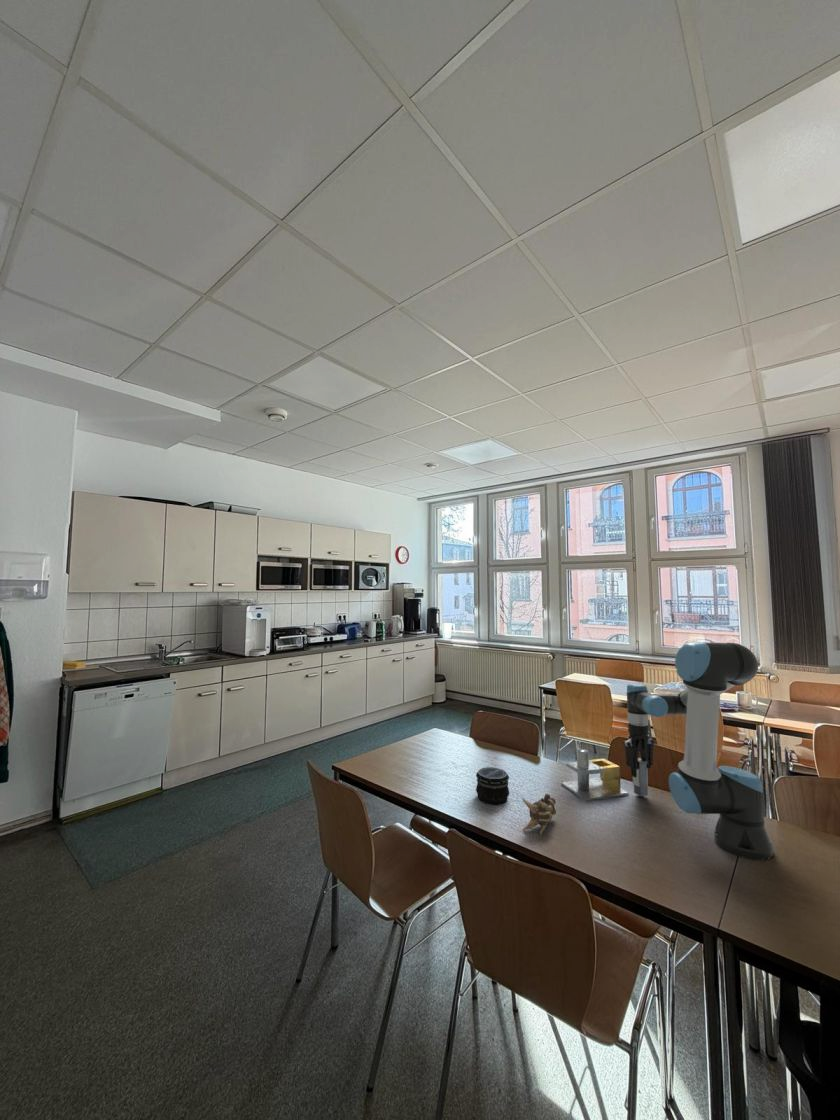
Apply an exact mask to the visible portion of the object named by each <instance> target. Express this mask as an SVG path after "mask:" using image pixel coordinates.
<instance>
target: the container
mask: <svg viewBox="0 0 840 1120" xmlns="http://www.w3.org/2000/svg"><path fill="white" fill-rule="evenodd" d="M475 777H476V782H477V785H476V788H475V792H476V794H477V800H478V801H479V802H480V803H483V804H485V805H489V806H501V805H504V804H506V803H507V802H508V798H509V795H510V790H509V779H510V777H509V774H508V773H507V772H506V770H504V769H503V768H499V767H493V766H491V767H490V766H489V767H488V766H486V767H482V768H480V769H478V771H477V772H476V774H475Z"/></svg>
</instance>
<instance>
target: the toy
mask: <svg viewBox="0 0 840 1120" xmlns="http://www.w3.org/2000/svg"><path fill="white" fill-rule="evenodd" d="M521 800H522V801H523V803H524V804H525V805H526V806H527V808H528V809H529V817H530V820H529V822H528V823H526V825H525V826H524V827H523V829H522V831H526V830H530V829H532V828H534V827H536V826H538V825H539V826H540V832H539V835H542V834H543V832H544V830H545V829H546V827H547V824H549V823H551V822H552V821H553V820H552V819H553V816H554V815H556V814H557V810H556V809H555V804H556V800H555V798H554V797H551V795H550V794H549V793H545V795H544V797H541V798H540V799H538V801H535V802H533V803H532V802H530V801H528V800H527V799H525V798H523V797H521Z"/></svg>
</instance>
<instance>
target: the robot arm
mask: <svg viewBox="0 0 840 1120" xmlns="http://www.w3.org/2000/svg"><path fill="white" fill-rule="evenodd" d="M674 659H675V660H674V661H675V662H674V666H675V669H676V673H677V675H678V677H679V678H680V679H682V685H684V686H685V687H686V688H685V689H684V690H682V691H680V692H679V693H665V694H664V693H650V692H649V691H648V687H647V685H646V684H643V683H642V684H641V683H629V684H627V685H626V702H627V704H626V706H627V722H628V724H627V729H628V730H627V731H628V733H629V736H628V739H627V740H623V742H622V743H623V745H624V751H625V761H626V766H627V767H629V768H630V769H631V777H632V785H633V786H634V785H636V786H638V787H639V786H640V782H639V769H638V768H637V765H638V758H639V755H640V758H641V759H644V760H646V761H647V764H646V766H647V786H648V785H649V777H648V776H649V774H650V773H649V769H651V768H652V766H653V765H654V744H655V739H653V738H652V739H651V738H649V735H650V726H649V716H651V717H655V718H661V717H663V716H666V715H669V716H673V715H676V716H677V715H679V716H685V718H686V719H685V733H684V734H685V735H684V737H685V738H684V752H683V755H684V756H683V759H682V760H681V761H679V762H678V764H677V771H676V772H675V771H673V772H672V773H670V775H669V776H668V787H669V791H670V793H671V797H672V798H673V801H674V803H675V804H676V805H677V807H679V809H681V810H682V812H684V813H686V814H692V815H693V814H695V815H701V814H702V815H710V814H711V815H712V814H713V815H715V814H716V815H718V814H719V817H718V819H717V823H716V825H715V828H714V831H713V839H714V842H715V844H716V845H718V846H719V848H721V849H723V850H724V851H726V852H728V853H730V854H733V855H735V856H738V857H741V858H745V859H749V860H757V861H763V860H762V859H767V860H769V859H768V858H770V857H772V856H773V857H774V847H773V844H772V843H771V841H770V838H769V835H768V832H767V830H766V825H765V811H764V808H765V807H764V790H763V782H762V780H761V779H760V777H759V776H758V775H756V774H754V773H752V772H750V771H747V770H746V769H745V770H744V769H741V768H738V767H734V766H730V765H719V766H717V756H718V755H717V753H718V752H717V751H718V735H719V720H720V707H721V706H720V703H721V702H720V701H721V695H722V694H724V693H725V692H727V691H728V690H730V689H732V688H734V687H741V686H743V685H745V684H747V683H748V682H751V680H752V679H754V678H755V677H756V675H757V673H758V671H759V662H758V659H757V656H756V655H755V654H754V653H753V652H752V650H750V648H748V647H747V646H745V645H742V644H740V643H735V642H709V641H708V642H706V641H705V642H702V641H697V642H688V643H685V644H683V645H682V646H681V647H680V648H678V651H677V652H676V656H675V658H674ZM773 857H772V858H773ZM770 859H771V858H770Z"/></svg>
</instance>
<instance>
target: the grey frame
mask: <svg viewBox="0 0 840 1120" xmlns="http://www.w3.org/2000/svg"><path fill="white" fill-rule="evenodd" d="M589 752H590V751H589V750H588V749H585V748H577V749H576V759H577V761H570V762H566V768H568V769H570V770H572V771H573V772H575V773H577V780H570V781H563V782H560V785H561V787H564V788H565V789H567V790H569V791H570V792H571V793H572V794H574V795H575V796H577V797H578V798H580V799H582V800H583V801H585V802H591V801H598V800H604V799H605V800H606V799H611V798H612V799H613V798H617V797H618V798H619V797H625V796H626V797H627V796H629V792H628V791H626V790H624V789H623V788H621V766H620V765H617V764H616V763H614V762H612V761H609V760H608V759H606V758H598V759H589V758H590V757H589V756H590V755H589V754H590V753H589ZM596 774H597V775H598V774H600V775H599V777H593V778H590V775H596Z"/></svg>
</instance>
